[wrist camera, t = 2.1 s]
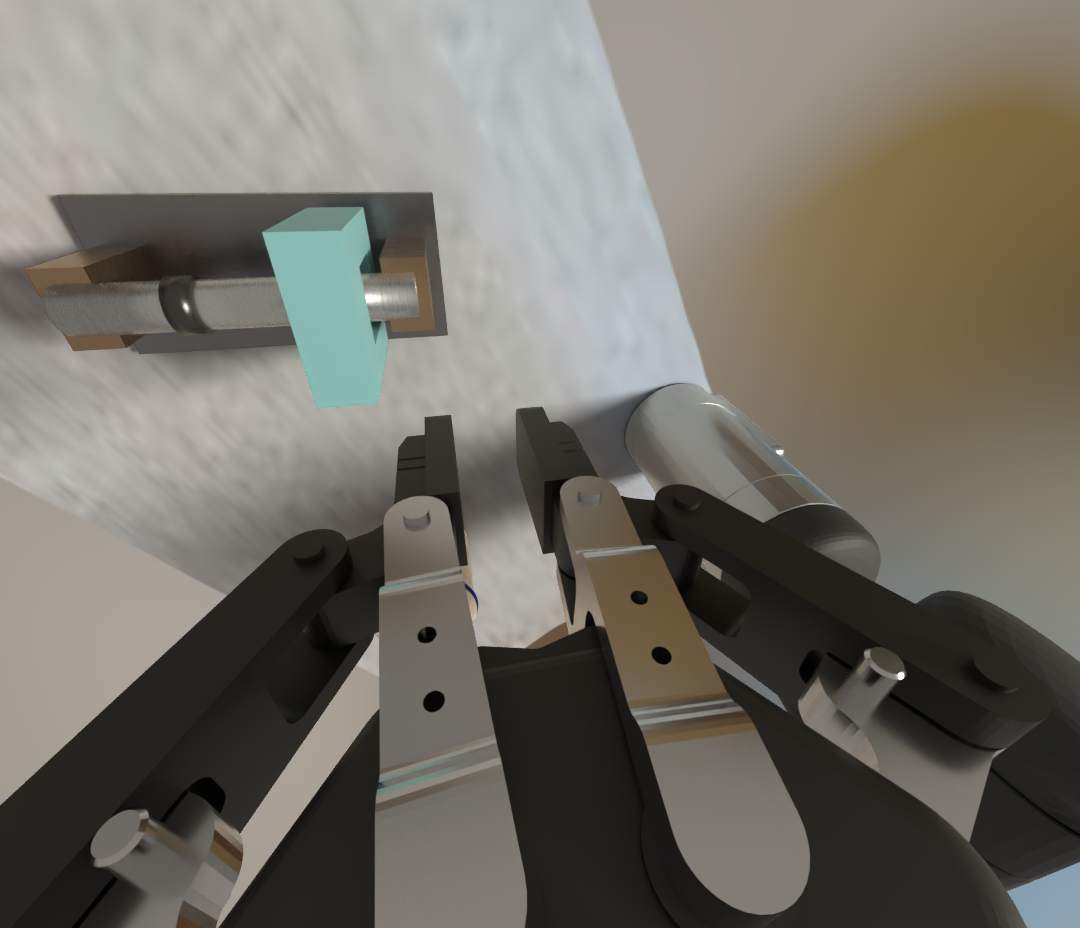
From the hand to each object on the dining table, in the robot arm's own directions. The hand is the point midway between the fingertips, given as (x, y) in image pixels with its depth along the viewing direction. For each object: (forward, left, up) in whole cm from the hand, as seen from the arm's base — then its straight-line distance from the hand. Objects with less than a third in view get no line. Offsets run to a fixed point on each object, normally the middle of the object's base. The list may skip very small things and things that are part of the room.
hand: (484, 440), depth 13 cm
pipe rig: (+11, 0, -23) cm, 25 cm away
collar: (+6, 0, -20) cm, 21 cm away
